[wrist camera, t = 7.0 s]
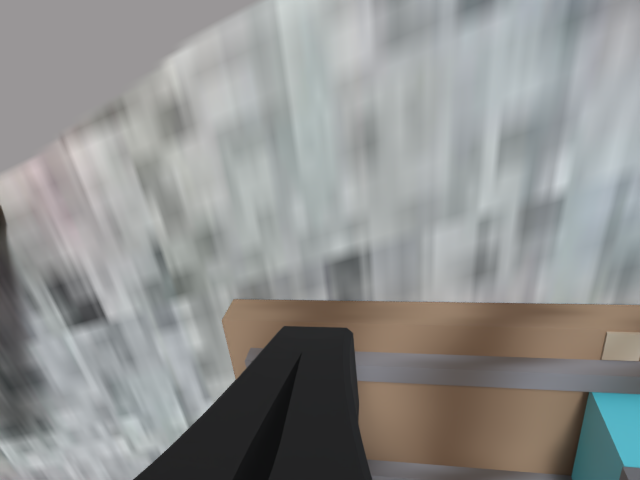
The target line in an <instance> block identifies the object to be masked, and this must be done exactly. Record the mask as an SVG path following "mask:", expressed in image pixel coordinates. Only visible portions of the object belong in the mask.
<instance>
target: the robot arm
mask: <svg viewBox="0 0 640 480" xmlns="http://www.w3.org/2000/svg"><path fill="white" fill-rule="evenodd" d="M358 420H359V395H358V384H357V372H356V361H355V349H354V338H353V332H351V331H350V330H349V329H348V328H342V327H303V326H283V327H282V328H281V329H280V330H279V331H278V332H277V334H276V335H275V336H274V337H273V338H272V339H271V340H270V342H269V343H268V344H267V345H266V346H265V347H264V349H263V350H262V351H261V352H260V353H259V354H258V355H257V357H256V358H255V359H254V360H253V361H252V362H251V363H250V365H249V366H248V367H247V368H246V369H245V370H244V371H243V372H242V374H241V375H240V376H239V377H238V378H237V379H236V380H235V381H234V382H233V383H232V384H231V386H230V387H229V388H228V389H227V390H226V391H225V392H224V393H223V394H222V395H221V396H220V397H219V398H218V399H217V401H216V402H215V403H214V404H213V405H212V406H211V407H210V408H209V409H208V410H207V411H206V412H205V413H204V414H203V415H202V416H201V417H200V418H199V419H198V420H197V421H196V422H195V423H194V424H193V425H192V426H191V427H190V428H189V429H188V430H187V431H186V432H185V433H184V434H183V435H182V436H181V437H180V438H179V439H178V440H177V441H176V442H174V443H173V444H172V445H171V446H170V447H169V448H168V449H167V450H166V451H165V452H164V453H163V454H162V455H161V456H159V457H158V458H157V459H156V460H155V461H154V462H153V463H152V464H151V465H150V466H148V467H147V468H146V469H145V470H144V471H143V472H142V473H140V474H139V475H138V476H137V477H136V478H135V479H133V480H372V477H371V473H370V469H369V466H368V462H367V458H366V454H365V450H364V446H363V442H362V438H361V433H360V429H359V424H358Z"/></svg>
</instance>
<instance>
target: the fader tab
mask: <svg viewBox="0 0 640 480" xmlns="http://www.w3.org/2000/svg"><path fill="white" fill-rule="evenodd" d="M571 478H572V480H640V394H623V393H602V392H589V395H588V400H587V405H586V409H585V414H584V419H583V424H582V428H581V433H580V438H579V443H578V447H577V452H576V457H575V462H574V466H573V471H572V476H571Z"/></svg>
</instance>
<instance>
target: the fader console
mask: <svg viewBox="0 0 640 480" xmlns="http://www.w3.org/2000/svg"><path fill="white" fill-rule="evenodd" d="M222 324H223V328H224V332H225V336H226V340H227V345H228V349H229V353H230V357H231V361H232V365H233V370H234V374H235V378H236V379H237V378H238V377H239V376H240V375H241V374H242V372H243V371H244V370H245V369H246V368H247V367H248V366H249V365H250V363H251V362H252V361H253V360H254V359H255V358H256V357H257V355H258V354H259V353H260V352H261V351H262V350H263V349H264V347H265V346H266V345H267V344H268V343H269V342H270V340H271V339H272V338H273V337H274V336H275V335H276V334H277V332H278V331H279V330H280V329H281V328H282V327H283V326H303V327H342V328H348V329H349V330H350V331H351V332H353V338H354V349H355V361H356V372H357V384H358V395H359V420H358V424H359V429H360V433H361V438H362V442H363V446H364V450H365V454H366V458H367V462H368V466H369V469H370V473H371V477H372V480H572V478H571V476H572V471H573V466H574V462H575V457H576V452H577V447H578V443H579V438H580V433H581V428H582V424H583V419H584V414H585V409H586V405H587V400H588V395H589V392H602V393H623V394H640V305H595V304H525V303H455V302H384V301H314V300H243V299H234V300H233V301H232V303H231V305H230V307H229V308H228V310H227V312H226V314H225V315H224V317H223V319H222Z"/></svg>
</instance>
